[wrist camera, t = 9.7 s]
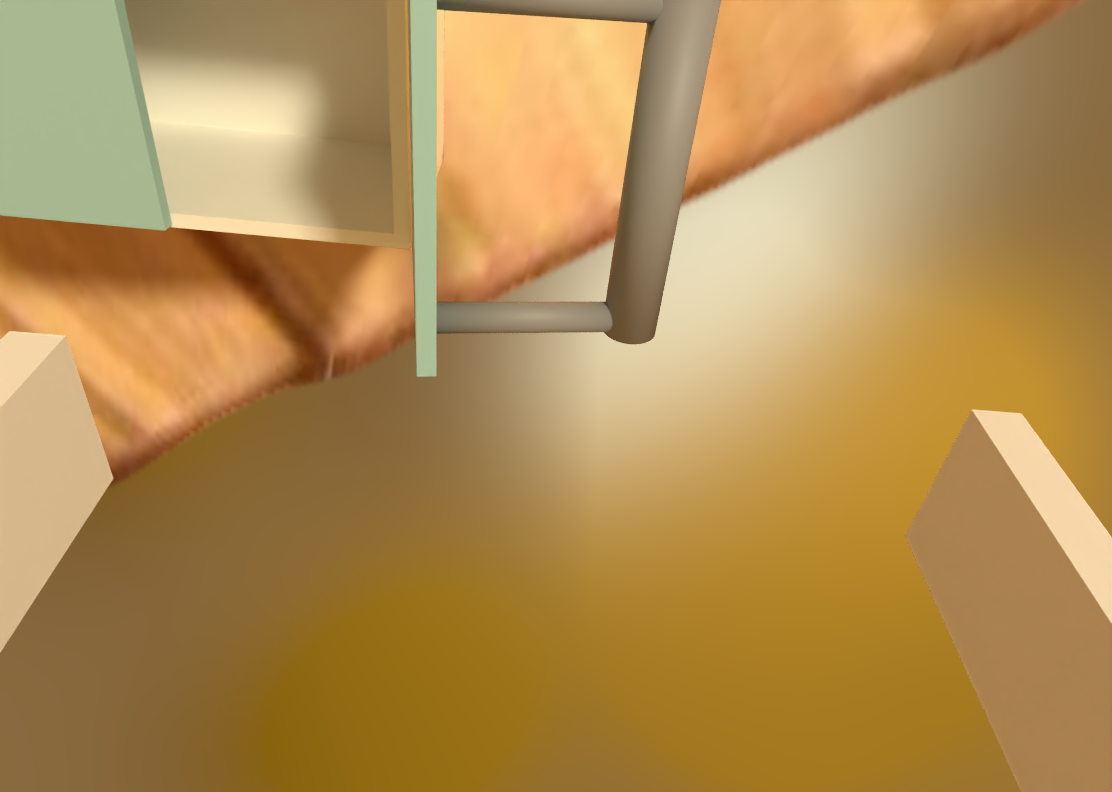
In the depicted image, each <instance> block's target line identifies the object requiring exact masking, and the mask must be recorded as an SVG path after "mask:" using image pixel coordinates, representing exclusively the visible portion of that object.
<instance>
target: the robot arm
mask: <svg viewBox="0 0 1112 792" xmlns="http://www.w3.org/2000/svg"><path fill="white" fill-rule="evenodd" d="M112 480H113V476H112V473H111V470H110V467H109V464H108V461H107V458H106V455H105V452H104V449H103V446H102V443H101V440H100V437H99V434H98V431H97V428H96V425H95V422H94V419H93V416H92V413H91V410H90V407H89V404H88V401H87V398H86V395H85V392H84V389H83V386H82V383H81V380H80V377H79V374H78V371H77V368H76V365H75V362H74V359H73V356H72V353H71V350H70V347H69V344H68V341H67V338H66V336H64V335H51V334H39V333H27V332H15V331H9V332H8V333H7V334H6V335H5V336H4V337H3V338H2V339H1V340H0V652H1V650H2V649H3V647H4V646H5V644H6V643H7V641H8V640H9V638H10V637H11V635H12V634H13V632H14V631H15V629H16V627H17V626H18V624H19V623H20V621H21V620H22V618H23V617H24V615H25V613H26V612H27V611H28V609H29V607H30V606H31V604H32V603H33V601H34V600H35V598H36V597H37V595H38V594H39V592H40V591H41V589H42V587H43V586H44V584H45V583H46V581H47V580H48V578H49V577H50V575H51V574H52V572H53V571H54V569H55V567H56V566H57V564H58V563H59V561H60V560H61V558H62V556H63V555H64V554H65V552H66V551H67V549H68V547H69V546H70V544H71V543H72V541H73V540H74V538H75V537H76V535H77V534H78V532H79V530H80V529H81V527H82V526H83V524H84V523H85V521H86V520H87V518H88V517H89V515H90V514H91V512H92V511H93V509H94V508H95V506H96V504H97V502H98V501H99V500H100V498H101V497H102V495H103V494H104V492H105V491H106V489H107V488H108V486H109V484H110V483H111V481H112ZM905 537H906V539H907V541H908V544H909V546H910V548H911V550H912V553H913V555H914V557H915V559H916V561H917V564H918V566H919V568H920V570H921V572H922V574H923V576H924V579H925V581H926V583H927V586H928V588H929V590H930V592H931V594H932V597H933V599H934V601H935V603H936V605H937V607H938V610H939V612H940V614H941V616H942V619H943V621H944V623H945V625H946V627H947V630H948V632H949V634H950V636H951V638H952V641H953V642H954V645H955V647H956V649H957V651H958V654H959V656H960V658H961V660H962V663H963V665H964V667H965V669H966V671H967V674H968V676H969V678H970V680H971V682H972V685H973V687H974V689H975V691H976V693H977V696H978V698H979V700H980V702H981V704H982V707H983V709H984V711H985V713H986V715H987V718H988V720H989V722H990V724H991V726H992V729H993V731H994V733H995V735H996V737H997V740H998V742H999V744H1000V746H1001V748H1002V751H1003V753H1004V755H1005V757H1006V759H1007V762H1008V764H1009V766H1010V768H1011V771H1012V773H1013V775H1014V777H1015V779H1016V781H1017V784H1018V786H1019V788H1020V790H1021V792H1112V537H1111V536H1110V534H1109V533H1108V532H1107V530H1106V529H1105V528H1104V526H1103V525H1102V523H1101V522H1100V521H1099V519H1098V518H1097V517H1096V515H1095V514H1094V512H1093V511H1092V510H1091V508H1090V507H1089V506H1088V504H1087V503H1086V502H1085V500H1084V499H1083V497H1082V496H1081V495H1080V493H1079V492H1078V491H1077V489H1076V488H1075V486H1074V485H1073V484H1072V482H1071V481H1070V480H1069V478H1068V477H1067V476H1066V474H1065V473H1064V471H1063V470H1062V469H1061V467H1060V466H1059V464H1058V463H1057V462H1056V460H1055V459H1054V458H1053V456H1052V455H1051V453H1050V452H1049V451H1048V449H1047V448H1046V447H1045V445H1044V444H1043V443H1042V441H1041V440H1040V438H1039V437H1038V436H1037V434H1036V433H1035V431H1034V430H1033V429H1032V427H1031V426H1030V425H1029V423H1028V422H1027V421H1026V419H1025V418H1024V416H1023V415H1022V414H1021V413H1009V412H997V411H984V410H971V412H970V414H969V416H968V418H967V419H966V421H965V423H964V425H963V427H962V429H961V431H960V433H959V435H958V437H957V438H956V441H955V442H954V444H953V446H952V448H951V450H950V452H949V454H948V455H947V457H946V459H945V461H944V463H943V465H942V467H941V469H940V471H939V473H938V474H937V476H936V478H935V480H934V482H933V484H932V486H931V488H930V490H929V492H928V493H927V496H926V497H925V499H924V501H923V503H922V505H921V507H920V509H919V511H918V512H917V514H916V516H915V518H914V520H913V522H912V524H911V526H910V528H909V530H908V531H907V534H906V535H905Z"/></svg>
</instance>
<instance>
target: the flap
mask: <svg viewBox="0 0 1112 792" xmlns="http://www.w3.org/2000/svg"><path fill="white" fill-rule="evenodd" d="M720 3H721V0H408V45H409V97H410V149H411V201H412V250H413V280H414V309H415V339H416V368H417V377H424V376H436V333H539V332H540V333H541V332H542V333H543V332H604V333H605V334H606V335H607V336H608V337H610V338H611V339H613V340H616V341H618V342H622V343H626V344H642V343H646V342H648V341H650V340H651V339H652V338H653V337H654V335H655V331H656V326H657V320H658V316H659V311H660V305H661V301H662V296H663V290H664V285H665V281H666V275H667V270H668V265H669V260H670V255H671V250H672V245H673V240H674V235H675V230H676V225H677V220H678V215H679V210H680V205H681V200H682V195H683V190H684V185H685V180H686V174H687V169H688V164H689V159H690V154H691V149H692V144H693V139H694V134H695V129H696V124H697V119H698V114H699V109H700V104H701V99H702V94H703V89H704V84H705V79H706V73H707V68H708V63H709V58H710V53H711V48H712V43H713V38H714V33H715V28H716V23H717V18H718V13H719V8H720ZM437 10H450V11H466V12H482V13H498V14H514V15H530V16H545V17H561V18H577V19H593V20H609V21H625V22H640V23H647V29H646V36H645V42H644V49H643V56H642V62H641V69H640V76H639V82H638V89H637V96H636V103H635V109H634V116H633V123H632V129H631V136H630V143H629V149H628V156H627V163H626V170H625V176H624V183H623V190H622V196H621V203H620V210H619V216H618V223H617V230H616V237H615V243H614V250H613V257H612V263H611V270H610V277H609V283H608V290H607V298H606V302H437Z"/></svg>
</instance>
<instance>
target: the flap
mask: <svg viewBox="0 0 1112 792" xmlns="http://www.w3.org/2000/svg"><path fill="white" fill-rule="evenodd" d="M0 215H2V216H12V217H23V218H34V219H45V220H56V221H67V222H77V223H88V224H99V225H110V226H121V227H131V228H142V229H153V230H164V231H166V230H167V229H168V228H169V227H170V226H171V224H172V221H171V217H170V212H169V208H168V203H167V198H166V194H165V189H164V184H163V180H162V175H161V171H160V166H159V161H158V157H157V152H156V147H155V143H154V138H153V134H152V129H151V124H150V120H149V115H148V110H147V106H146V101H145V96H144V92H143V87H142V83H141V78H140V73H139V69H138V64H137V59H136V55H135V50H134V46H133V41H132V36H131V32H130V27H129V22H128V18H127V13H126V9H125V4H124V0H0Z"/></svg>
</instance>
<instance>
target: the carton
mask: <svg viewBox="0 0 1112 792" xmlns="http://www.w3.org/2000/svg"><path fill="white" fill-rule="evenodd" d="M124 4H125V9H126V13H127V18H128V22H129V27H130V32H131V36H132V41H133V46H134V50H135V55H136V59H137V64H138V69H139V73H140V78H141V83H142V87H143V92H144V96H145V101H146V106H147V110H148V115H149V120H150V124H151V129H152V134H153V138H154V143H155V147H156V152H157V157H158V161H159V166H160V171H161V175H162V180H163V184H164V189H165V194H166V198H167V203H168V208H169V212H170V217H171V221H172V224H171V226H170V227H174V228H185V229H196V230H206V231H217V232H228V233H239V234H250V235H260V236H271V237H282V238H293V239H304V240H314V241H325V242H336V243H347V244H358V245H368V246H379V247H390V248H401V249H410V248H411V245H412V201H411V149H410V97H409V45H408V0H124ZM444 37H445V10H437V174H438V171H439V169H440V166H441V163H442V160H443V158H444Z"/></svg>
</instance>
